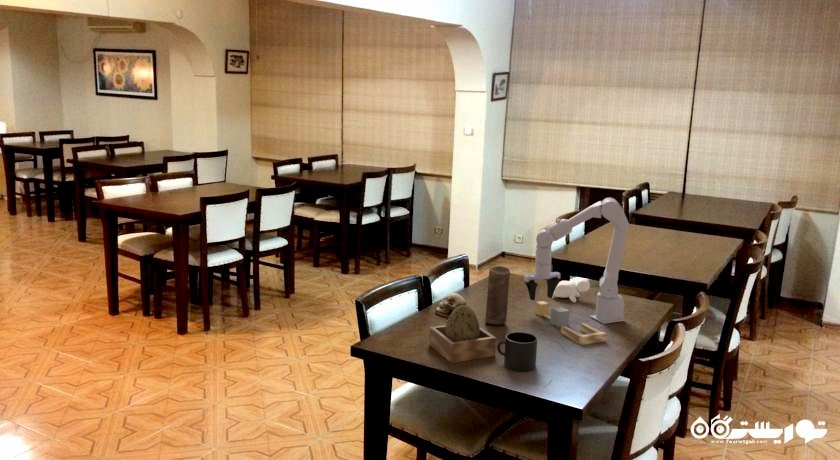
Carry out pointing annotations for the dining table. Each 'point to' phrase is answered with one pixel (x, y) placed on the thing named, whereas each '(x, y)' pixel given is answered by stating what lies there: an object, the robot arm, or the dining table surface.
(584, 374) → the dining table surface
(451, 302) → the skull
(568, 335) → the lane
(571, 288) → the white animal figurine
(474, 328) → the decorative egg
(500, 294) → the candle
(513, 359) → the mug
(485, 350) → the square wooden tray
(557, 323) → the tethered block
